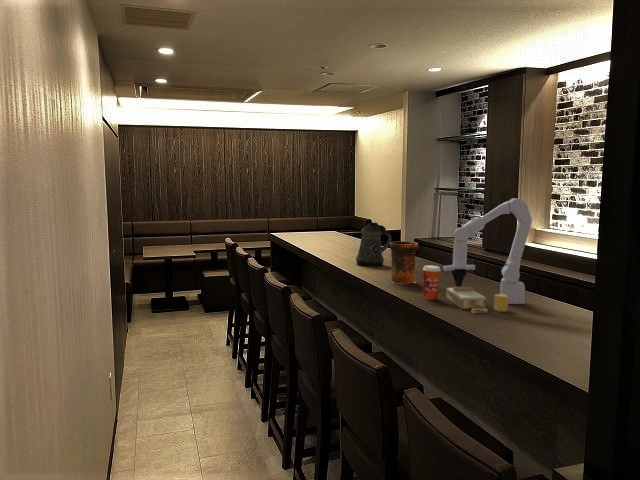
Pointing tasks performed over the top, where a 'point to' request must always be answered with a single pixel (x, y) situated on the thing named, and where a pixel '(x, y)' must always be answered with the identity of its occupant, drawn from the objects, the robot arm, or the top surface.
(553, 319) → the top surface
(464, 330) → the top surface
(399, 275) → the vessel
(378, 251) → the beer stein
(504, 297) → the yellow block
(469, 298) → the lid
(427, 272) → the paper cup
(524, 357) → the top surface
